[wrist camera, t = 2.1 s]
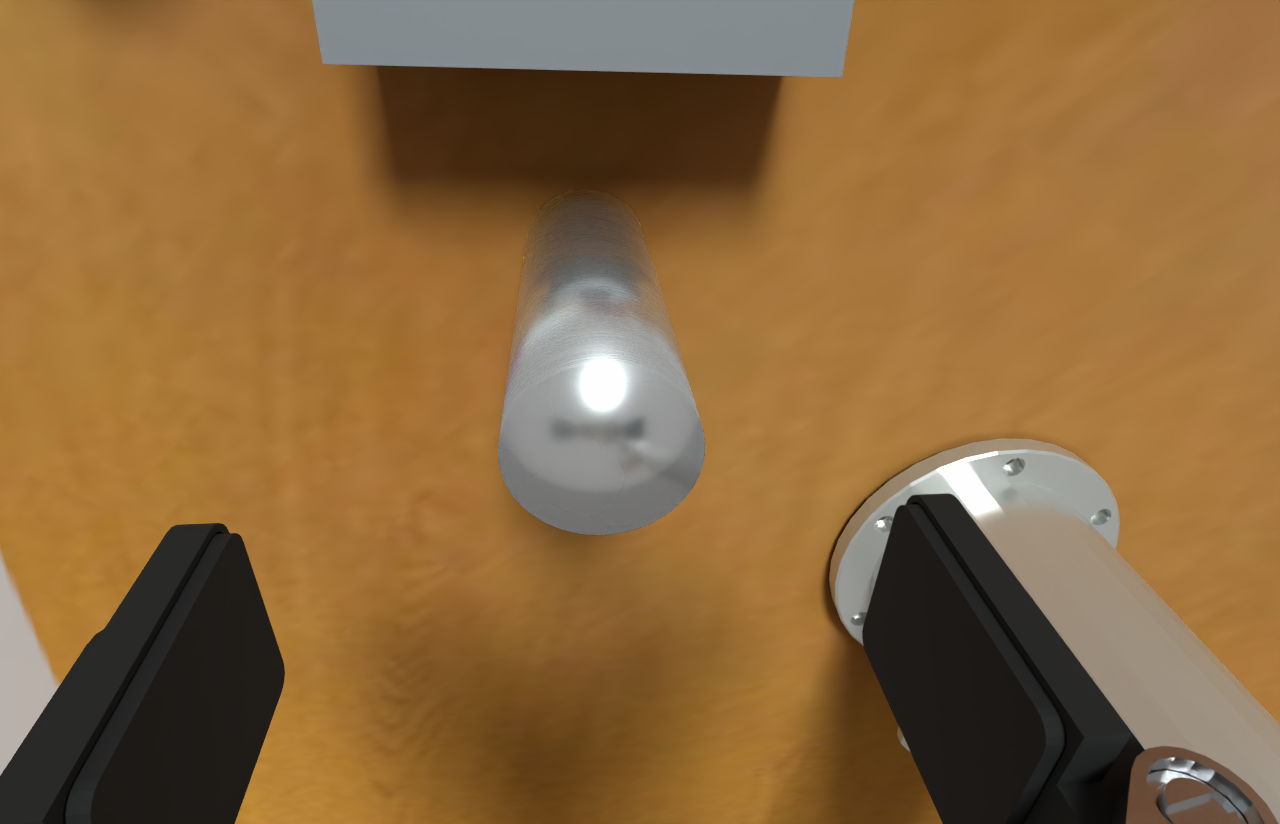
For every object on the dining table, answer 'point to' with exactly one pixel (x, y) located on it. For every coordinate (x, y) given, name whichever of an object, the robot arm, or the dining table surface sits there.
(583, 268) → the steel pin
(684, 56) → the hole block
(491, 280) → the dining table surface
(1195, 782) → the robot arm
